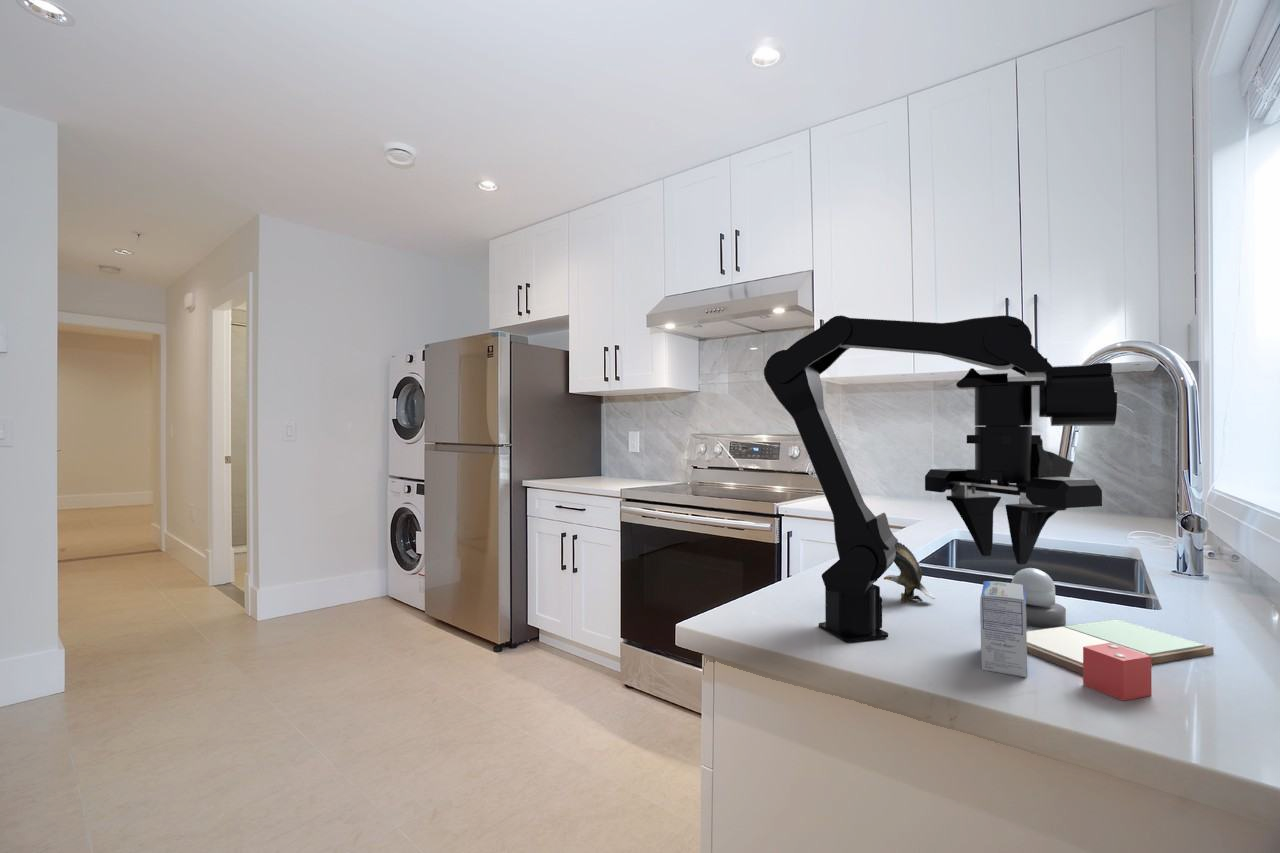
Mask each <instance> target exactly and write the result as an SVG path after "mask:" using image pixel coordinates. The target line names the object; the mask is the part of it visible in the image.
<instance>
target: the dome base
mask: <svg viewBox="0 0 1280 853" xmlns="http://www.w3.org/2000/svg"><path fill="white" fill-rule="evenodd" d="M1066 610H1067V609H1066V607H1065V606H1063V605H1061V604H1060V603H1057V602H1055V605H1052V606H1035V605H1029V604H1026V626H1030V627H1037V628H1046V629H1048V628H1055V627H1062V626H1067V611H1066Z"/></svg>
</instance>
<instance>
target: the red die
mask: <svg viewBox="0 0 1280 853" xmlns="http://www.w3.org/2000/svg"><path fill="white" fill-rule="evenodd" d="M1082 678H1083V679H1082V685H1084V686H1087V687H1089V688H1091V689H1094V690H1097V691H1099V692H1101V693H1103V694H1106V695H1108V696H1111V697H1114V698H1116V699H1118V700H1120V701H1129V700H1134V699H1139V698H1145V697H1150V696H1151V697H1152V687H1153V686H1152V664H1151V656H1149V655H1146V654H1143V653H1140V652H1137V651H1134V650H1131V649H1128V648H1125V647H1122V646H1119V645H1116V644H1112V643H1105V644H1098V645H1092V646H1085V647H1083V674H1082Z"/></svg>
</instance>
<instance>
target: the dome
mask: <svg viewBox="0 0 1280 853" xmlns="http://www.w3.org/2000/svg"><path fill="white" fill-rule="evenodd" d="M1011 583H1014V584H1021V585H1023V586H1024V589H1025V599H1026V604H1029V605H1035V606H1052V605H1055V603H1056V586H1055V583H1054V580H1053V579H1052V578H1051V576H1050V575H1049V574H1048V573H1047V572H1045V571H1043V570H1041V569H1038V568H1033V567H1028V568H1027V567H1025V568H1022V569H1019V570H1018V571H1017V572H1015V575H1014V576H1013V577H1012V580H1011Z"/></svg>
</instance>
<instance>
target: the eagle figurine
mask: <svg viewBox="0 0 1280 853" xmlns="http://www.w3.org/2000/svg"><path fill="white" fill-rule="evenodd" d="M894 545H895V549H896V556H895V559H894V561H893V563H894V564H895V565H896V567H897V568H898V570H899V572H900V574H899V575H895V574H892V575H891V574H888V575H886V576H883V580H887V581H891V582H894V583H896V584H897V585H901V586H903V587H904V593H903V592H901V594H900V595H901V597H900V600H901V603H902V604H903V603H908V602H910V603H911V602H912V603H916V604H918V602H917V601H916V600H919V601H920V602H923V599H922V598H921V597H920V596H919V595H915V590H917V591H918V590H919V591H920V592H921V593H923V594H924V595H925V596H928V597H929V598H930V599H932V600H936V597H935V596H934V595H933V594H932V593H931V592H930V590H928V589H927V588H926V587H925V586H924V585H923V584H922V577H923V571H922V568H921V566H920V564H919V562H918V560H917V559H916V556H915V555H914V553H913V552H912V550H910V549H909V548H908V547H907V546H906V545H905V544H904V543H901V542H899V541H897V542H896V543H895V544H894Z"/></svg>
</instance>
